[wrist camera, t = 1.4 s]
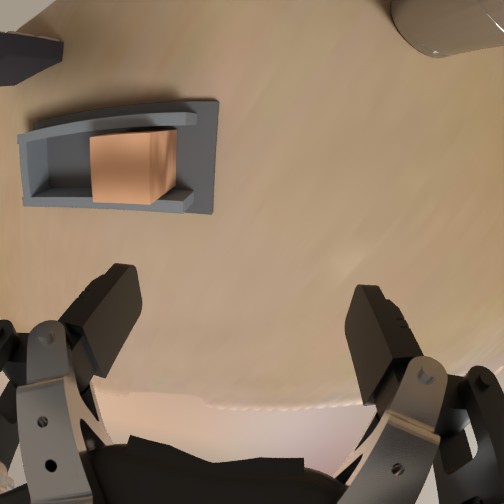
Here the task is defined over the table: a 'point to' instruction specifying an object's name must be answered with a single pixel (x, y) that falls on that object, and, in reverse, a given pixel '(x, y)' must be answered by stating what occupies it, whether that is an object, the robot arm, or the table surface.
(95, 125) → the chute
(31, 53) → the dark grey upright box
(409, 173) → the table surface
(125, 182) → the block
